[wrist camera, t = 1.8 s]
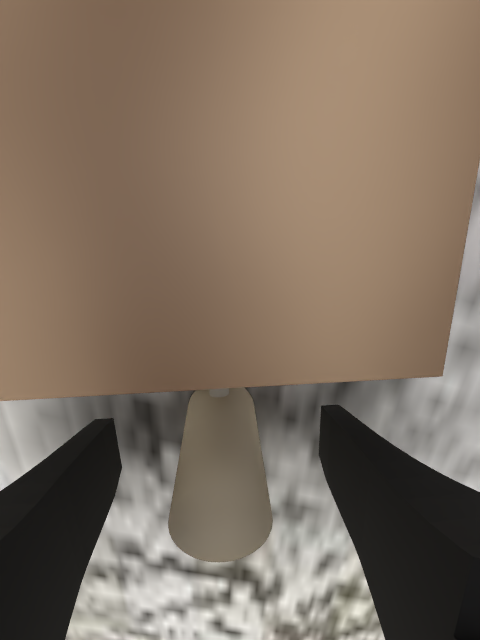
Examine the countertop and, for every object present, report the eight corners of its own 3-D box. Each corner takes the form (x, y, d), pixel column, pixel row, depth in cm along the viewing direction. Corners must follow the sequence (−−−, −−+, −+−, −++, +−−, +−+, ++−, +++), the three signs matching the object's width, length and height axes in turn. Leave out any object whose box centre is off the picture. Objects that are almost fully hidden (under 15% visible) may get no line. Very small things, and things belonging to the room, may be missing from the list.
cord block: (277, -87, 9) (345, -452, 4) (276, 434, 14) (306, 555, 9) (105, -86, 9) (-47, -470, 4) (168, 440, 14) (138, 568, 9)
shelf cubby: (357, -186, 8) (723, -1253, 2) (331, 292, 12) (442, 376, 6) (8, -189, 8) (-663, -1443, 2) (94, 303, 12) (-41, 403, 6)
